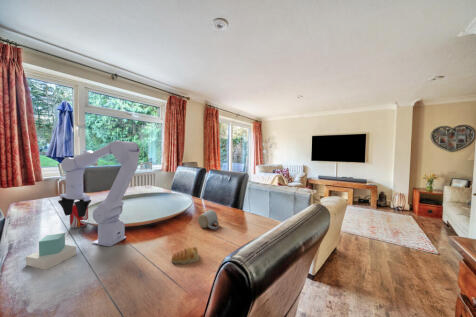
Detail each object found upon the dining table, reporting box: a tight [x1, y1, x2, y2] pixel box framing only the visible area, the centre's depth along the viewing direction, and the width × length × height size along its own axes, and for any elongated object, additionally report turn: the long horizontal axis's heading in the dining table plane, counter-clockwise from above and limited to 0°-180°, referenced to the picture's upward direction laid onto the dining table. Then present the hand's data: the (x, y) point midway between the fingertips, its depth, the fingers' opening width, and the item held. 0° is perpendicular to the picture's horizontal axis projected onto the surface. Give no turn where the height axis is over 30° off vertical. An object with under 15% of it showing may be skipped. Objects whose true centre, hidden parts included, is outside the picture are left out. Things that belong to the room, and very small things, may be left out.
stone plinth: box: [25, 244, 77, 270], centre depth 63 cm, size 9×9×3 cm
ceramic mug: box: [197, 209, 220, 230], centre depth 94 cm, size 11×8×8 cm
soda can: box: [69, 203, 89, 229], centre depth 92 cm, size 7×7×12 cm
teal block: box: [38, 232, 66, 256], centre depth 63 cm, size 5×5×5 cm
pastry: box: [171, 246, 200, 265], centre depth 65 cm, size 9×7×4 cm
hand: (75, 215), depth 79 cm, fingers open, 7 cm apart
